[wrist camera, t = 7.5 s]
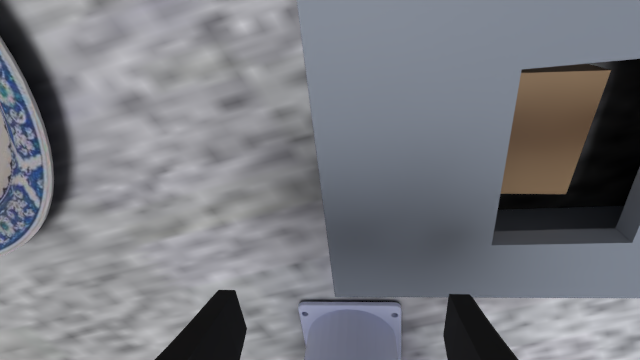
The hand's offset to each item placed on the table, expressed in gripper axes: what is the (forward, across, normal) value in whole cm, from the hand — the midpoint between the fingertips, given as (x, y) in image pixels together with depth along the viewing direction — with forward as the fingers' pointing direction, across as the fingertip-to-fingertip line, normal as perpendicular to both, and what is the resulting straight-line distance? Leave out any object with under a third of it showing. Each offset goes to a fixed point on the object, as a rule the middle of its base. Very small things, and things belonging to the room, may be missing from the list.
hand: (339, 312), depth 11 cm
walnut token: (+11, -9, -3) cm, 14 cm away
